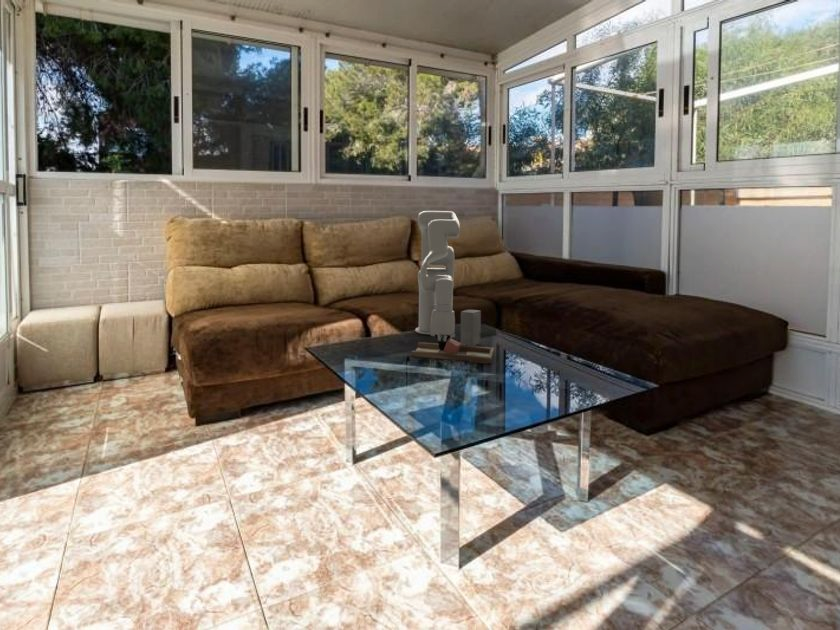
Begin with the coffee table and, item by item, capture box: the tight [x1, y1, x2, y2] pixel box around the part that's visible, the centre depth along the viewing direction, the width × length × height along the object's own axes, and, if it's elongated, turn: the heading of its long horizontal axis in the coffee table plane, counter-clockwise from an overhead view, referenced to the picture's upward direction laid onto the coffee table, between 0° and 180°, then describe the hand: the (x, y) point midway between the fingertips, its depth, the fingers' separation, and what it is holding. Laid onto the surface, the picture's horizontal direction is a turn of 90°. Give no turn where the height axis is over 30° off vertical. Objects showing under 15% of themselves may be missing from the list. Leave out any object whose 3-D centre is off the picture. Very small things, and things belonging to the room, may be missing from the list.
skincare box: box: [460, 309, 482, 346], centre depth 252 cm, size 8×7×16 cm
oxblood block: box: [443, 338, 461, 354], centre depth 235 cm, size 5×5×5 cm
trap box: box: [410, 341, 495, 364], centre depth 236 cm, size 15×33×3 cm, turn 78°
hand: (442, 349), depth 237 cm, fingers closed
